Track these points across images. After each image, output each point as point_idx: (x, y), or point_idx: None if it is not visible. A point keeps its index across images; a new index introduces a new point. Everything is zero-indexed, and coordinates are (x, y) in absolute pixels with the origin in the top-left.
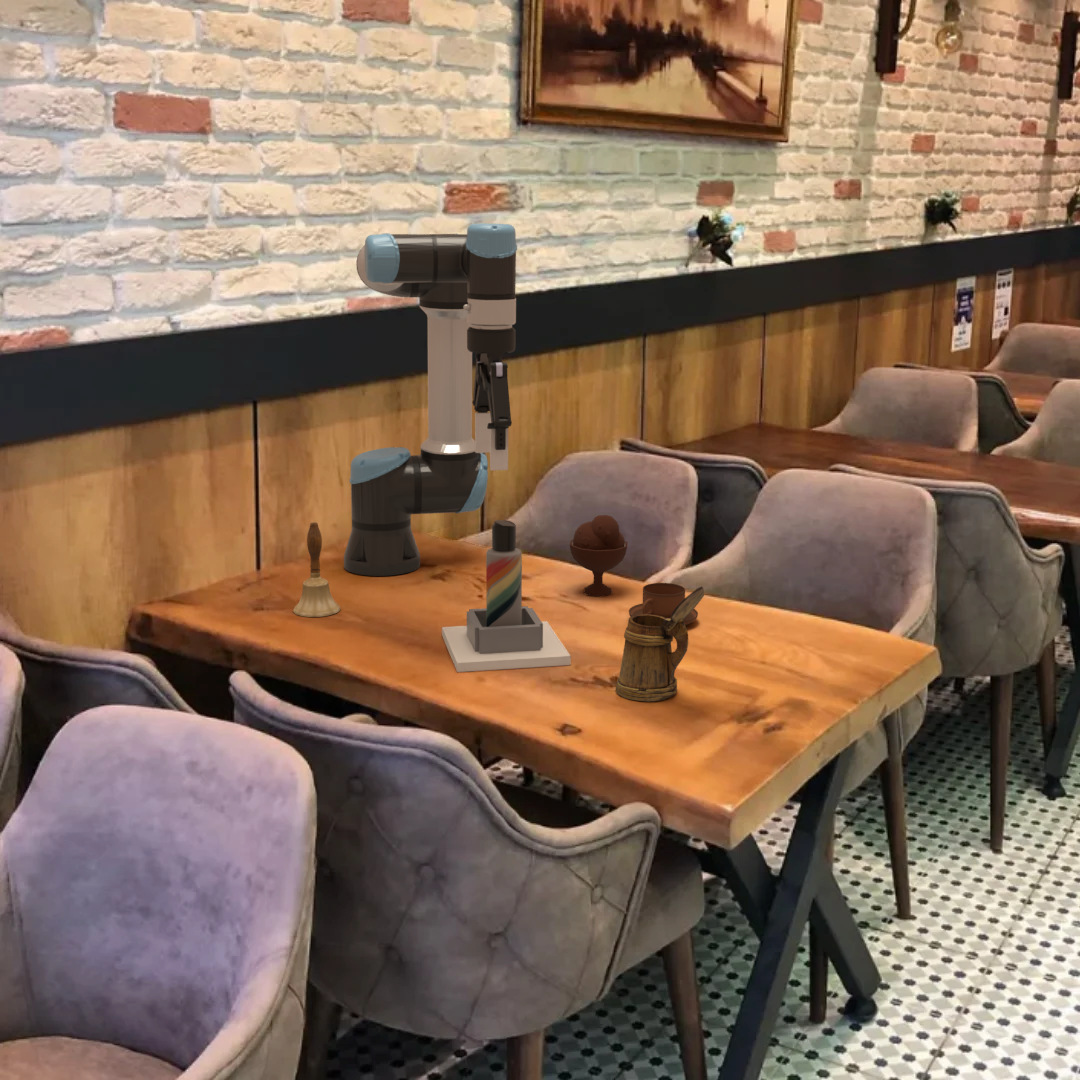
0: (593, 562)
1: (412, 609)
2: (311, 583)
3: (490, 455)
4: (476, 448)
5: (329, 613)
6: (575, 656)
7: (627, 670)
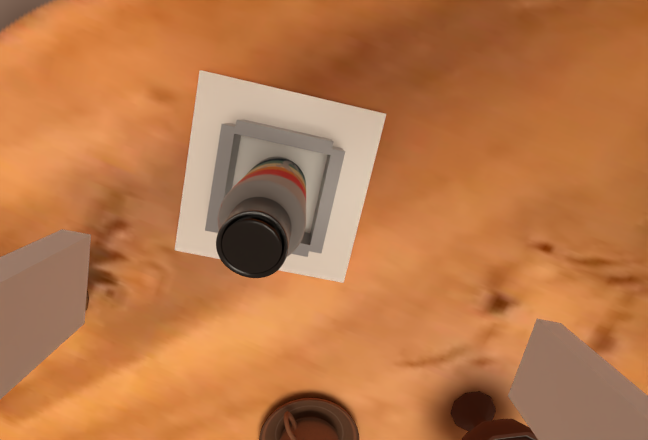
0: (467, 435)
1: (538, 116)
2: None
3: (12, 261)
4: (549, 334)
5: None
6: (213, 267)
7: None
